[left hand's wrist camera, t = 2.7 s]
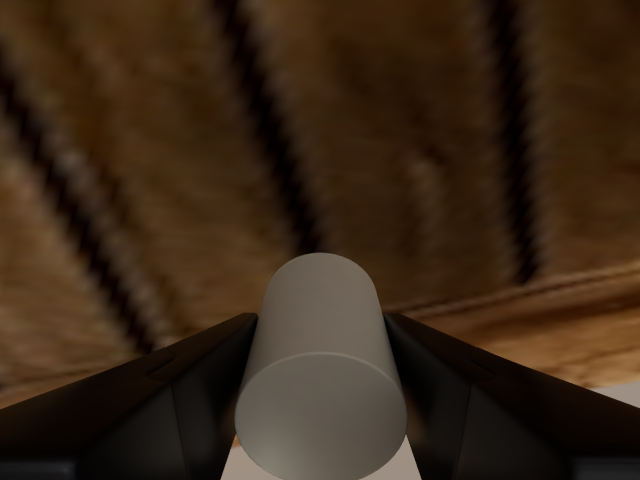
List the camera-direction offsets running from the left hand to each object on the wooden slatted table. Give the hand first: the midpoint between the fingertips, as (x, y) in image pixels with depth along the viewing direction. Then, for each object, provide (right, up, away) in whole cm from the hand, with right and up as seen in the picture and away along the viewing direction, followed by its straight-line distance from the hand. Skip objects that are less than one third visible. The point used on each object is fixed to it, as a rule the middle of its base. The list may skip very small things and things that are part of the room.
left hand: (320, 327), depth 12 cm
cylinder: (0, 0, +1) cm, 1 cm away
